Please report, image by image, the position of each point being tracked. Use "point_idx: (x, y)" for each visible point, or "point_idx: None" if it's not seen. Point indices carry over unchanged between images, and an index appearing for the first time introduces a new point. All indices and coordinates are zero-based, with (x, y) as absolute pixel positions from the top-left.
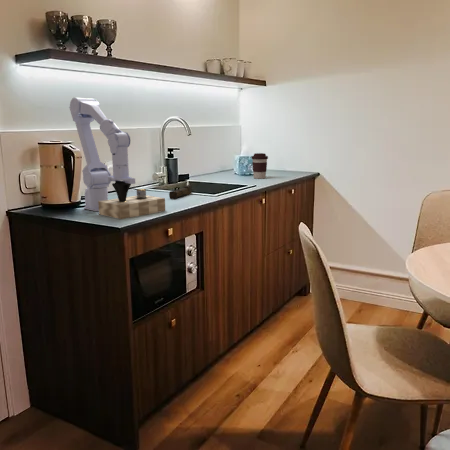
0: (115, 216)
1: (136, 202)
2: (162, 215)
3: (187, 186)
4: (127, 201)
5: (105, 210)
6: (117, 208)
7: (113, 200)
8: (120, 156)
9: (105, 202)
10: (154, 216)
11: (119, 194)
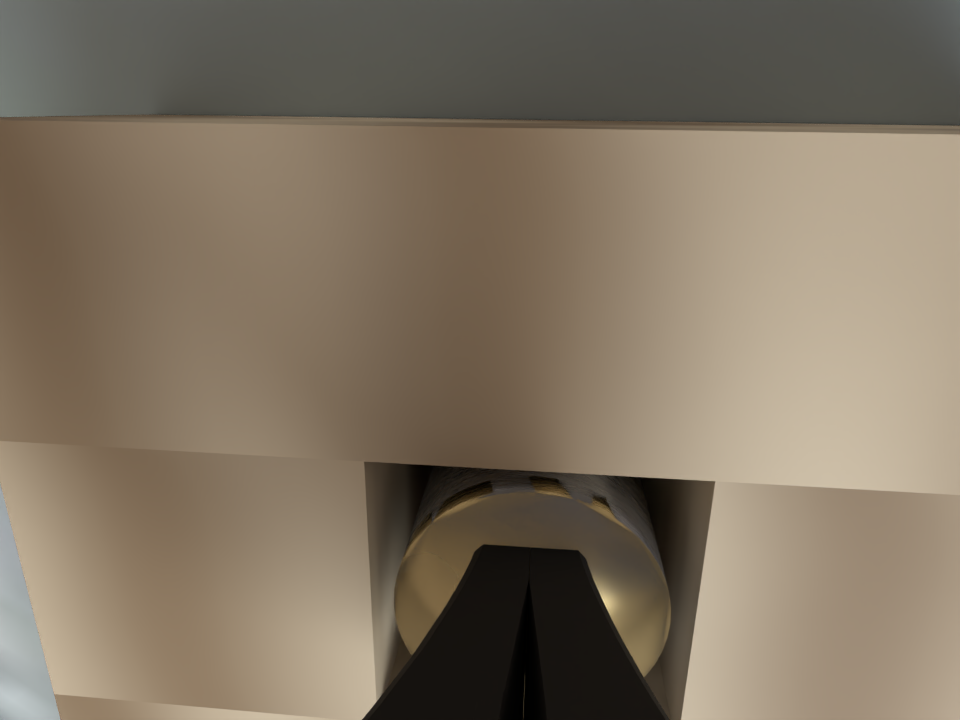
0: (325, 117)
1: (86, 676)
2: (6, 706)
3: None
4: None
5: (735, 124)
6: (127, 118)
7: (873, 556)
8: None
9: (807, 154)
10: (9, 607)
11: (460, 684)
